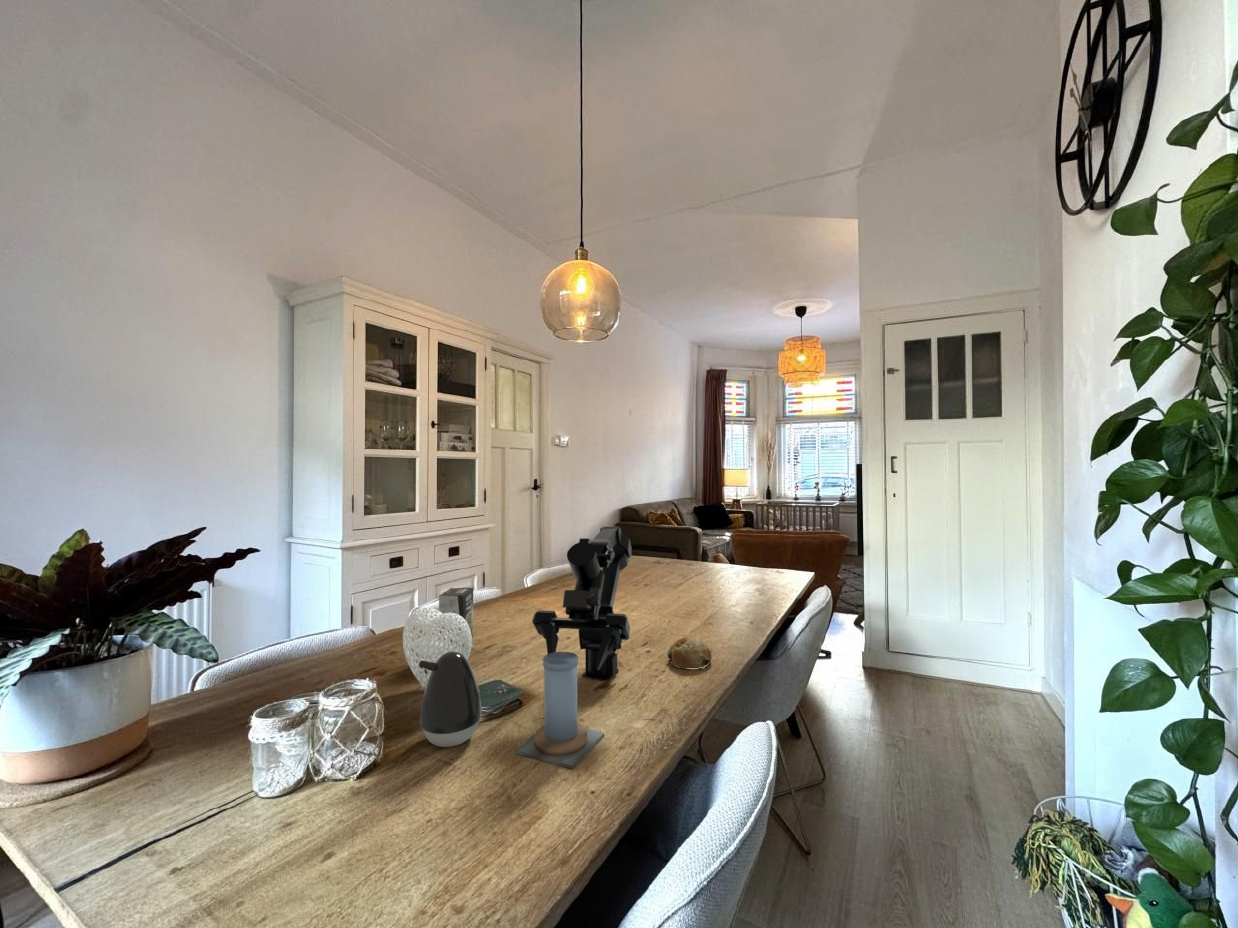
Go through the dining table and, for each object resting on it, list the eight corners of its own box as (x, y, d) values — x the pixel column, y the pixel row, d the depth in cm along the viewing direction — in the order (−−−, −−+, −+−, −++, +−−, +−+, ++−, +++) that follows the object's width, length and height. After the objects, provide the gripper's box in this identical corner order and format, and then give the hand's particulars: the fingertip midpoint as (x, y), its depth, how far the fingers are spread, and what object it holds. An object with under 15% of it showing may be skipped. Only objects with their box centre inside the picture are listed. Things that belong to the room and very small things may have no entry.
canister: (536, 735, 87) (535, 658, 87) (562, 721, 92) (561, 649, 92) (560, 747, 83) (559, 667, 83) (586, 733, 88) (585, 657, 88)
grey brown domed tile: (515, 753, 85) (515, 743, 85) (551, 723, 95) (551, 714, 95) (572, 769, 80) (572, 758, 80) (604, 735, 90) (604, 726, 90)
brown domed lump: (690, 688, 118) (703, 660, 116) (656, 660, 124) (668, 633, 122) (710, 674, 126) (723, 648, 124) (677, 649, 132) (689, 623, 130)
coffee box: (463, 660, 127) (463, 595, 127) (437, 660, 127) (437, 595, 127) (474, 647, 136) (474, 586, 136) (450, 647, 136) (450, 587, 136)
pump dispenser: (419, 731, 92) (419, 646, 92) (478, 720, 96) (478, 639, 96) (418, 761, 83) (418, 667, 83) (484, 748, 86) (484, 658, 87)
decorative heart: (485, 691, 109) (484, 610, 109) (443, 711, 100) (442, 623, 100) (432, 673, 119) (431, 599, 119) (389, 690, 110) (389, 610, 110)
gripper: (534, 570, 102) (514, 645, 91) (626, 573, 99) (616, 651, 88) (548, 599, 110) (530, 671, 99) (633, 602, 106) (625, 677, 96)
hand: (573, 667), depth 95 cm, fingers open, 9 cm apart
